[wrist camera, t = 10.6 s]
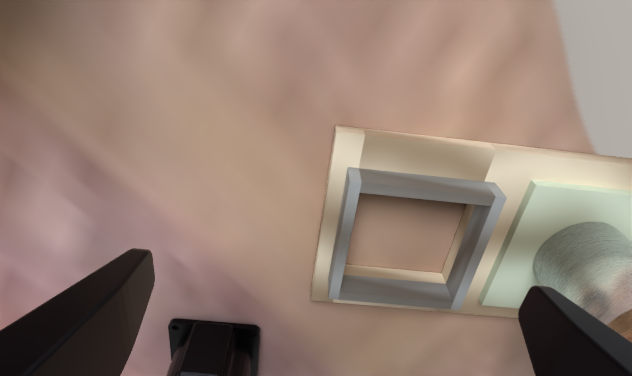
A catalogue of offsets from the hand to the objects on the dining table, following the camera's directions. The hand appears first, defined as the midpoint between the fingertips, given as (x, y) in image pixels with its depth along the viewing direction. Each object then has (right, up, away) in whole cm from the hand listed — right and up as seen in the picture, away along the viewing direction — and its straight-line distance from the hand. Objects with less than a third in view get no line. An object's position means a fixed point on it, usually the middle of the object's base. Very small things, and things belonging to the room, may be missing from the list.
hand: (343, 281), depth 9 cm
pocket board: (+10, -1, +15) cm, 18 cm away
